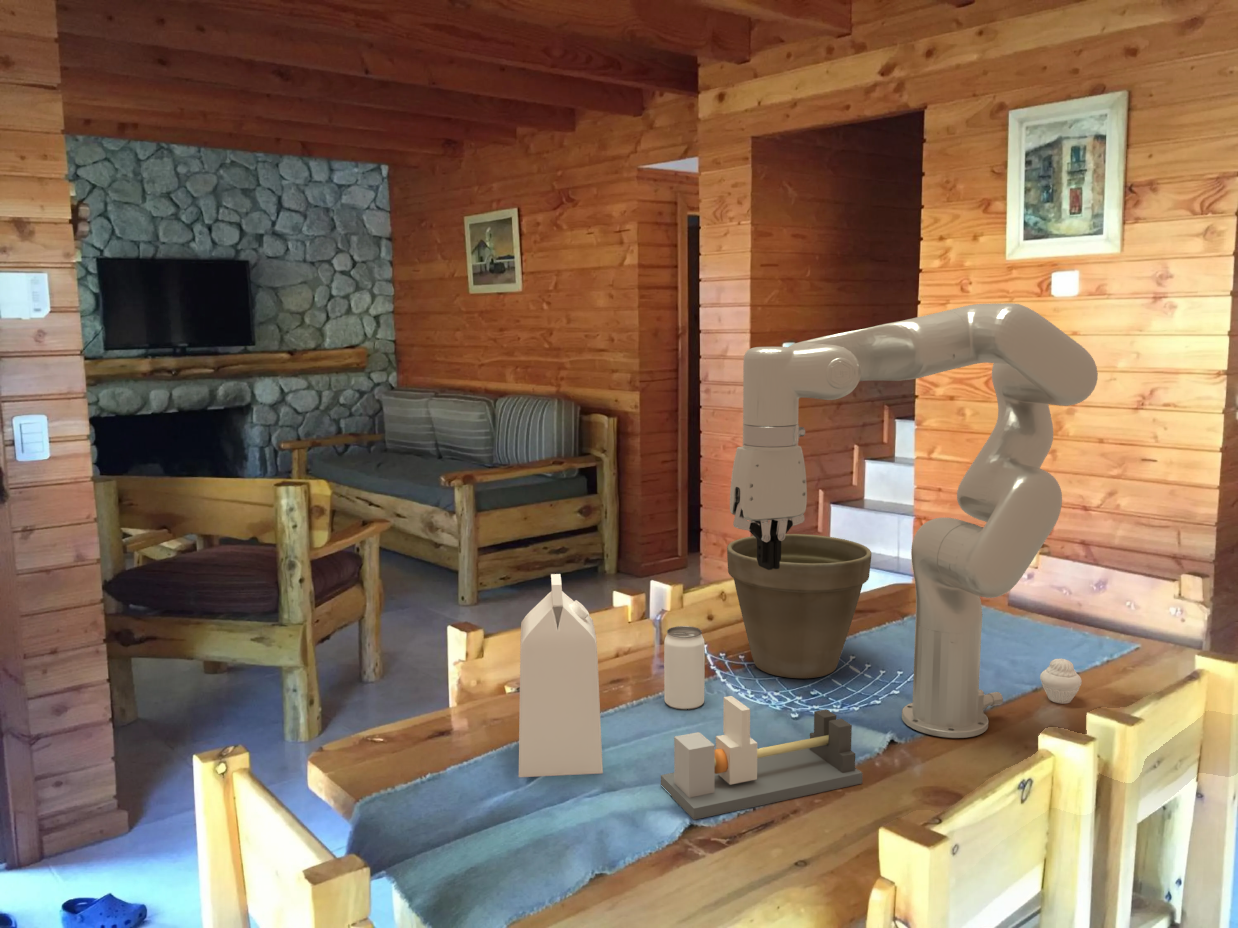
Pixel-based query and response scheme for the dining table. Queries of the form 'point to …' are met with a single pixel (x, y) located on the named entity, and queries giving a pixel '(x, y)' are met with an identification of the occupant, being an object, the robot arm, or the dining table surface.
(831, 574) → the plant pot
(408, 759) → the dining table surface
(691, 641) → the can
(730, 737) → the sleeve
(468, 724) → the dining table surface
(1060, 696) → the muffin
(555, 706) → the milk
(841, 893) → the dining table surface
